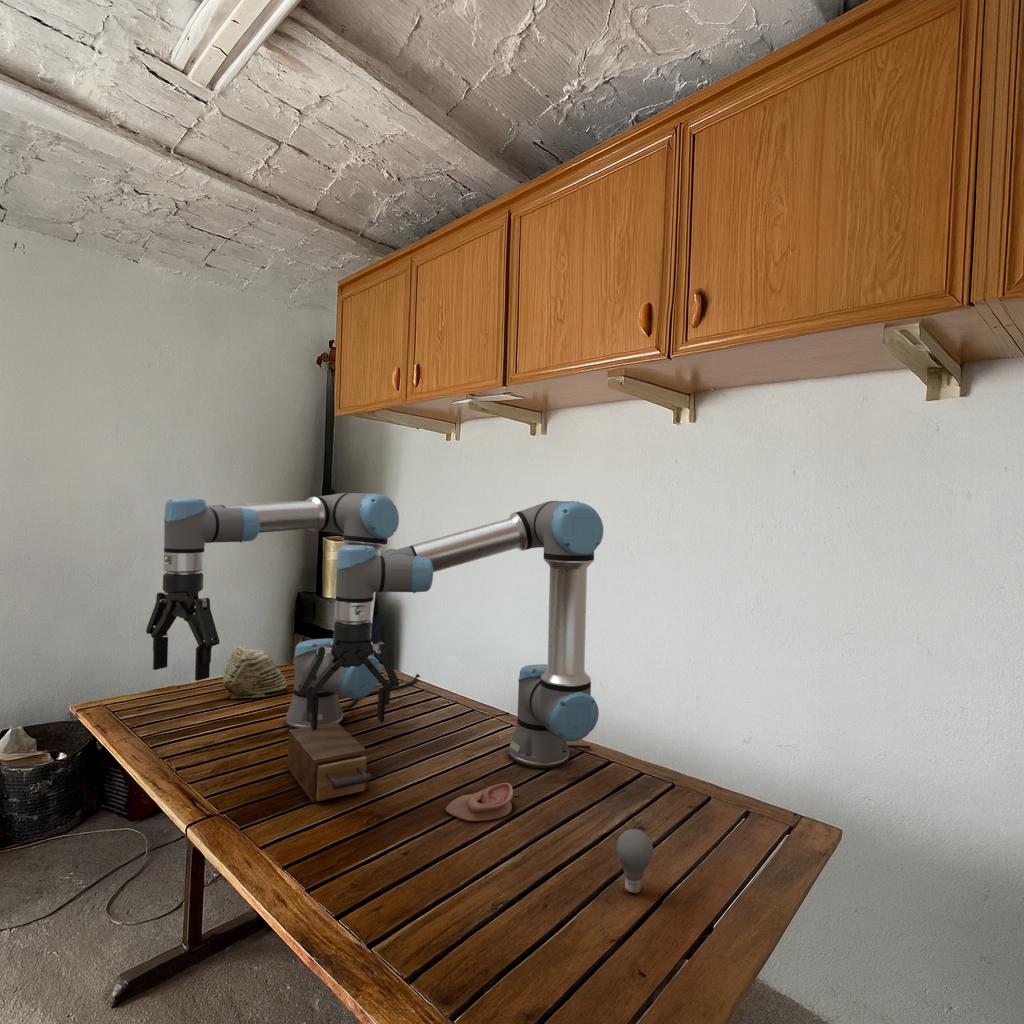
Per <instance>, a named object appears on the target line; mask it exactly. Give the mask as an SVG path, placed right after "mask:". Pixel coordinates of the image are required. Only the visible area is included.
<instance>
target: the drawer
mask: <svg viewBox="0 0 1024 1024" xmlns="http://www.w3.org/2000/svg"><path fill="white" fill-rule="evenodd" d="M371 781H372V775H371V773H370V772H367V756H366V757H365V756H363V757H358V756H354V757H349V758H344V759H339V760H334V761H328V762H323V763H318V772H317V798H316V799H317V800H318V801H317V802H321V801H326V800H329V799H334V798H339V797H343V796H348V795H352V794H357V793H360V792H364V791H366V786H367V785H366V783H370V782H371Z"/></svg>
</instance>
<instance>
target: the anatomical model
mask: <svg viewBox="0 0 1024 1024" xmlns="http://www.w3.org/2000/svg"><path fill="white" fill-rule="evenodd" d="M513 796H514V789H513V786H512V784H511V783H509V782H502V783H498V784H495V785H492V786H488V787H486V788H484V789H481V790H479V791H477V792H474V793H472V794H465V795H461V796H459V797H456V798H455V799H454V800H452V801H451V802H449V803H448V804H447V805H446V807H445V810H444V811H445V812H446V813H448V814H449V815H451V816H453V817H455V818H457V819H461V820H463V821H467V822H482V821H490V820H496V819H500V818H503V817H505V816H507V815H509V814H510V813H511V812H512V808H513V806H512V802H511V801H512V799H513Z"/></svg>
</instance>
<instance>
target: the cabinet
mask: <svg viewBox="0 0 1024 1024" xmlns="http://www.w3.org/2000/svg"><path fill="white" fill-rule="evenodd" d="M287 742H288V745H287V770H288V771H289V772H290V773H291V775H292V776H293V778H294V779H295V780H296V782H297V783H298V785H299V786H300V788H301V789H302V791H303V792H304V793H305V795H306V796H307V798H308V799H309V800H310V802H311V803H317V802H319V801H318V800H317V799H316V798H317V772H318V763H323V762H328V761H334V760H339V759H344V758H349V757H354V756H358V757H363V756H365V757H366V758H367V749H366V748H365V747H364V746H363V745H362V744H361V743H359V741H358V740H356V738H354V737H353V736H352V735H351V734H350V733H349V732H348V731H347V730H346V729H345V728H344V727H343V726H342V725H341V724H340V725H339V724H338V723H337V722H335V723H329V724H322V725H317V730H313V729H312V727H311V726H310V727H304V728H298V729H288V741H287Z"/></svg>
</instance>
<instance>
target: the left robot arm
mask: <svg viewBox="0 0 1024 1024" xmlns="http://www.w3.org/2000/svg"><path fill="white" fill-rule="evenodd" d="M163 522H164V523H163V524H164V525H163V528H164V530H163V531H164V533H163V534H164V535H163V568H162V570H163V571H164V572H165V573H164V574H162V591H161V592H157V593H156V597H155V599H156V600H155V604H154V607H153V609H152V612H151V615H150V618H149V621H148V624H147V626H146V629H145V632H146V634H147V635H150V637H151V638H152V653H153V654H152V655H153V656H152V662H153V663H152V670H154V671H157V670H162V669H166V668H168V660H169V659H168V654H169V637H168V631H169V630H170V628H171V627H172V626H173V624H174V622H175V621H176V619H177V618H180V619H183V620H184V621H185V622H187V623H188V624H187V625H188V627H189V628H190V631H191V632H192V635H193V637H194V640H196V641H195V642H196V643H197V645H198V646H196V647H195V665H194V666H195V671H194V681H197V682H199V681H203V680H205V679H209V678H210V673H211V672H210V670H211V669H210V667H211V662H212V648H213V647H214V646H217V645H219V644H220V642H221V641H220V637H219V635H218V631H217V627H216V624H215V621H214V620H215V619H214V617H213V613H212V610H211V600H210V598H209V597H204V598H200V597H199V593H200V592H201V591H203V589H204V573H203V572H202V571H204V570H205V547H206V546H205V545H206V544H212V543H240V544H241V543H245V542H252V541H254V540H255V539H256V538H258V536H259V534H262V533H275V532H286V531H298V530H309V531H310V532H313V533H316V532H317V533H318V532H326V533H336V534H342V535H343V540H342V542H343V543H344V545H363V546H364V545H365V546H373V547H374V548H375V550H376V555H380V554H381V553H382V552H381V551H382V550H383V549H384V548H386V547H387V546H388V539H389V538H391V537H392V536H394V534H395V532H397V530H398V527H399V523H400V516H399V510H398V508H397V506H396V504H395V503H394V502H393V500H392V499H391V498H390V497H388V496H386V495H383V494H378V493H374V492H372V493H371V492H369V493H367V492H366V493H365V492H364V493H362V492H341V493H340V492H339V493H334V494H328V495H327V494H326V495H320V496H319V495H318V496H309V497H307V499H306V500H296V501H295V500H293V501H271V502H251V503H250V502H249V503H229V504H228V503H227V504H211V505H209V504H206V500H205V499H204V498H194V497H193V498H192V497H190V498H189V497H170V498H169V499H167V500H166V502H165V508H164V517H163ZM376 593H377V592H374V594H373V608H372V619H371V620H369V621H370V622H371V623H372V624H373V617H374V609H375V602H376ZM332 644H333V638H317V639H316V638H315V639H308V640H304V641H300V642H299V643H298V644H297V645H296V646H295V650H294V651H295V652H294V655H293V658H294V672H293V673H294V674H293V695H292V696H293V697H292V699H291V702H290V704H289V708H288V711H287V713H286V715H285V726H286V728H287V729H288V730H292V729H298V728H304V727H310V726H311V713H308V711H307V709H306V706H307V696H306V695H301V694H300V693H299V691H298V686H299V685H300V683H301V681H302V679H303V677H304V675H305V674H306V672H307V670H308V668H309V666H310V664H311V663H312V661H313V659H314V657H315V655H316V649H317V646H318V645H322V646H325V647H331V646H332ZM371 644H374V643H373V642H372V641H371ZM333 658H334V656H333V655H332V653H329V654H328V655H327V657H325V658H324V659H323V662H322V664H321V665H320V667H319V669H318V671H317V673H316V675H315V676H314V678H313V680H312V682H311V684H310V686H311V685H312V683H313V682H314V681H315V680H316V679H317V678H318V676H319V675H320V674H321V673H322V672H323V671H324V670H325V668H326V667H327V666H328V665H329V663H330V661H331V660H332V659H333ZM368 659H369V660H370V661H371V663H372V664H373V665H374V666H375V668H376V669H377V670H378V671H379V672H380V673H381V674H382V666H381V663H380V662H379V661H380V660H378V658H377V657H376V656H375V650H373V651H372V652H371V654H370V655H369V656H368ZM419 678H421V676H420V674H418V673H416V674H415V676H414V678H413V680H411V681H409V682H407V683H403V684H399V686H397V687H396V686H395V687H393V688H392V690H391V691H393V690H398V689H401V688H404V687H408V686H410V685H413V684H414V683H415V682H416V681H417V680H418V679H419ZM379 683H380V682H379V681H378V680H377V679H376V678H375V676H374V675H373V674H372V673H371V672H370V670H369V669H368V668H367V667H366V666H365V665H364V663H363V664H362V665H361V666H360V667H354V666H351V667H348V668H344V667H342V666H341V667H340V668H339V669H338V670H337V671H335V672H334V674H333V675H332V676H331V677H330V678H329V679H328V681H327V682H326V683H325V684H324V685H323V686H322V688H321V689H320V690H319V691H318V692H317V693H316V694H317V695H318V697H319V701H318V721H317V725H322V724H329V723H335V722H337V723H338V724H339V725H340V726H341V725H342V723H343V722H344V713H343V710H344V709H349V708H350V707H352V706H353V705H354V704H355V703H356V701H358V700H360V699H364V698H366V697H367V696H371V695H375V694H378V693H379V689H378V690H374V689H375V688H376V687H377V685H378V684H379ZM310 686H309V687H310ZM309 687H308V688H309ZM339 696H341V697H342V698H345V699H351V700H352V701H351V702H350V703H348V704H346V705H341V702H340V699H339Z"/></svg>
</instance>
